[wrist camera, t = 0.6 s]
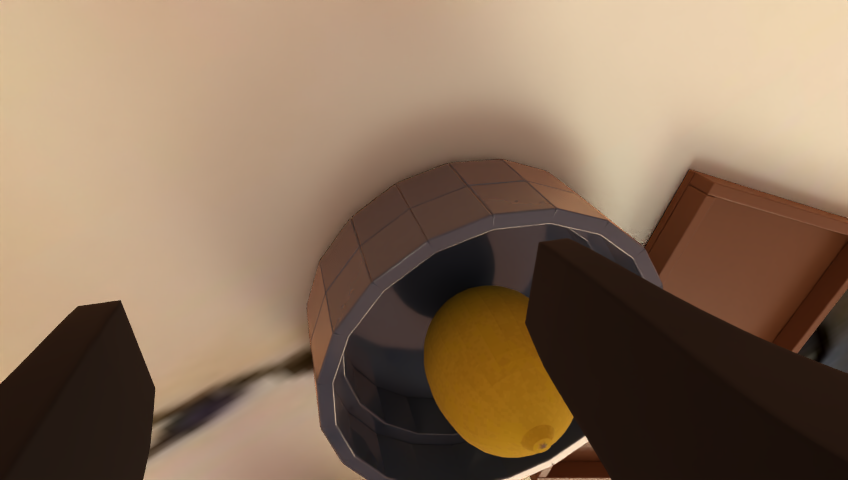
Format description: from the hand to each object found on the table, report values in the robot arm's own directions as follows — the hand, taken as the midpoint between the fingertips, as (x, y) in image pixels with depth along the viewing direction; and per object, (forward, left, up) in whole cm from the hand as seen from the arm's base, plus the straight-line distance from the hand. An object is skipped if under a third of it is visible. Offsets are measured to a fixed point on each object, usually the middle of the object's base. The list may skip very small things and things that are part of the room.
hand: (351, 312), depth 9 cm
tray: (-7, -24, -11) cm, 27 cm away
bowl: (-6, -9, -11) cm, 15 cm away
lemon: (-6, -9, -11) cm, 15 cm away
